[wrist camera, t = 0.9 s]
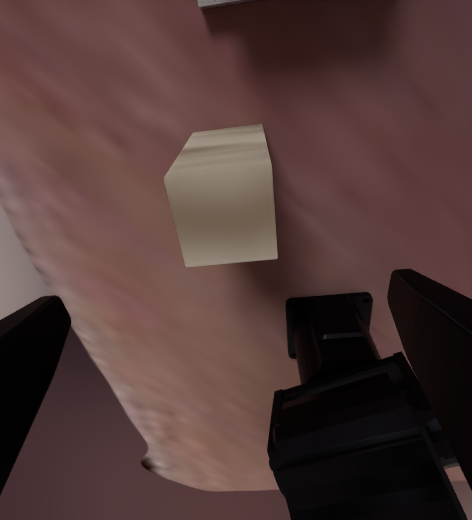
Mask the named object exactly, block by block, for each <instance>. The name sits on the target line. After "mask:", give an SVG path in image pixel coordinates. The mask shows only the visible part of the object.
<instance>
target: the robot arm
mask: <svg viewBox="0 0 472 520" xmlns="http://www.w3.org/2000/svg"><path fill="white" fill-rule="evenodd" d="M365 298H367V299H366V300H363V299H365ZM387 299H388V304H389V307H390V310H391V313H392V316H393V319H394V322H395V325H396V328H397V331H398V333H399V336H400V339H401V342H402V345H403V348H404V350H405V353H406V356H407V358H408V360H409V362H410V365H411V367H412V369H413V371H414V372H413V371H412V369H411V367H410V365H409V364H408V362H407V360H406V358H405V356H404V355H403V353H402V351H401V352H398V353H395V354H393V355H394V356H390V357H387V358H384V359H381V358H380V355H379V353H378V351H377V349H376V346H375V344H374V342H373V340H372V337H371V335H370V333H369V325H370V318H371V311H372V303H373V298H372V296H371V294H370V293H368V292H362V293H349V294H336V295H324V296H311V297H299V298H290V299H288V300H287V301H286V322H287V340H288V354H289V357H290V358H292V359H297V363H298V369H299V375H300V381H301V385H298V386H295V387H292V388H289V389H286V390H282V389H281V390H278V391H275V392H274V399H273V406H272V414H271V422H270V431H269V439H268V447H267V452H268V456H269V458H270V459H269V466H270V469H271V470H272V471H273V473H274V477H275V480H276V482H277V484H278V487H279V489H280V491H281V492H282V494H283V495H284V497H285V498H286V501H287V505H288V509H289V512H290V517H291V520H467V517H466V514H465V512H464V511H463V508H462V506H461V504H460V502H459V500H458V497H457V495H456V493H455V491H454V489H453V487H452V485H451V482H450V480H449V478H448V476H447V474H446V472H445V470H444V469H447V468H450V467H455V466H460V467H461V470H462V472H463V474H464V476H465V478H466V480H467V482H468V484H469V486H470V488H471V490H472V299H470V298H468V297H466V296H464V295H462V294H460V293H458V292H456V291H454V290H452V289H450V288H448V287H446V286H444V285H442V284H440V283H438V282H436V281H434V280H432V279H430V278H428V277H426V276H424V275H422V274H420V273H418V272H416V271H414V270H412V269H398V270H394V271H393V272H392V274H391V278H390V284H389V290H388V296H387ZM291 304H294V305H291ZM70 326H71V318H70V315H69V313H68V311H67V309H66V307H65V306H64V304H63V302H62V300H61V298H60V297H58V296H56V295H54V296H44V297H40V298H39V299H37V300H35V301H33V302H31V303H30V304H28V305H26V306H25V307H23V308H21V309H19V310H17V311H16V312H14V313H12V314H10V315H9V316H7V317H5V318H3V319H1V320H0V495H1V493H2V491H3V488H4V486H5V484H6V482H7V479H8V477H9V475H10V473H11V470H12V468H13V466H14V464H15V462H16V459H17V457H18V455H19V453H20V450H21V448H22V446H23V444H24V441H25V439H26V437H27V435H28V433H29V430H30V428H31V425H32V424H33V422H34V419H35V417H36V415H37V413H38V410H39V408H40V406H41V404H42V401H43V399H44V397H45V395H46V392H47V390H48V388H49V386H50V384H51V381H52V379H53V377H54V374H55V371H56V369H57V366H58V362H59V360H60V357H61V354H62V351H63V347H64V344H65V342H66V339H67V336H68V332H69V329H70ZM414 373H415V374H414ZM415 375H416V376H415ZM416 377H417V378H416ZM417 379H418V380H417Z"/></svg>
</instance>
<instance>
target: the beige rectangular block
mask: <svg viewBox="0 0 472 520" xmlns="http://www.w3.org/2000/svg"><path fill="white" fill-rule="evenodd" d="M164 182H165V186H166V190H167V194H168V198H169V202H170V206H171V210H172V214H173V218H174V222H175V226H176V230H177V234H178V238H179V242H180V246H181V250H182V254H183V258H184V262H185V266H186V267H194V266H205V265H216V264H227V263H238V262H249V261H260V260H271V259H278V254H277V239H276V223H275V208H274V192H273V177H272V165H271V160H270V156H269V152H268V147H267V143H266V138H265V134H264V130H263V125H262V124H257V125H250V126H242V127H234V128H226V129H218V130H211V131H203V132H195V133H193V134H192V135H191V137H190V138H189V140H188V141H187V143H186V144H185V146H184V148H183V149H182V151H181V152H180V154H179V155H178V157H177V158H176V160H175V161H174V163H173V164H172V166H171V168H170V169H169V171H168V172H167V174H166V175H165V177H164Z"/></svg>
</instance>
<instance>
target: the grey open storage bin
mask: <svg viewBox="0 0 472 520" xmlns="http://www.w3.org/2000/svg"><path fill="white" fill-rule="evenodd" d="M251 1H257V0H198V6H199V8H200V9H208V8H214V7H220V6H226V5H232V4H238V3H245V2H251Z"/></svg>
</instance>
